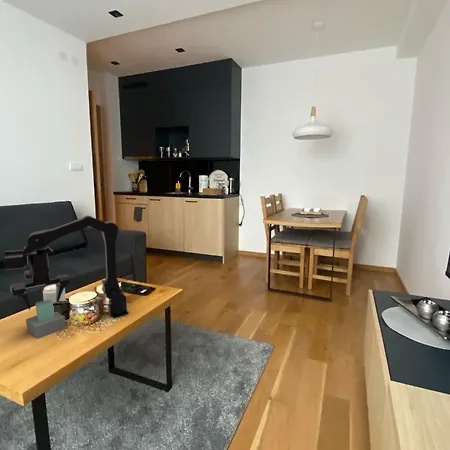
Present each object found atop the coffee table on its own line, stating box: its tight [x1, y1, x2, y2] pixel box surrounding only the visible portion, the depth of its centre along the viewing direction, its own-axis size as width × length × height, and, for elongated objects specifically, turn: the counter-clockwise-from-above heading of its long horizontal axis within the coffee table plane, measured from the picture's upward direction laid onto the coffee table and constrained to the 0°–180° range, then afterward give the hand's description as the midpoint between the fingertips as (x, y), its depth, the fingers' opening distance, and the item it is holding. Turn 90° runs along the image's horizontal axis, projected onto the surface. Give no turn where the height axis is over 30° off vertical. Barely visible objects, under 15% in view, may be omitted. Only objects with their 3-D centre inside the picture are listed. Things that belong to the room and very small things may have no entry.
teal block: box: [35, 299, 55, 322], centre depth 113 cm, size 5×5×6 cm
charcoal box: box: [25, 312, 67, 340], centre depth 113 cm, size 10×10×5 cm
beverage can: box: [42, 284, 67, 303], centre depth 126 cm, size 8×8×12 cm
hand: (43, 305), depth 112 cm, fingers open, 9 cm apart
